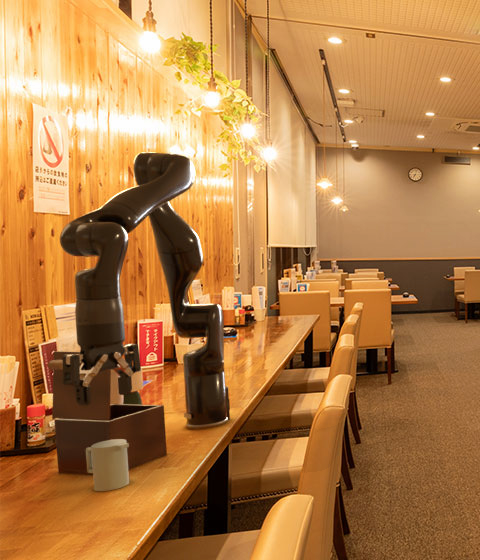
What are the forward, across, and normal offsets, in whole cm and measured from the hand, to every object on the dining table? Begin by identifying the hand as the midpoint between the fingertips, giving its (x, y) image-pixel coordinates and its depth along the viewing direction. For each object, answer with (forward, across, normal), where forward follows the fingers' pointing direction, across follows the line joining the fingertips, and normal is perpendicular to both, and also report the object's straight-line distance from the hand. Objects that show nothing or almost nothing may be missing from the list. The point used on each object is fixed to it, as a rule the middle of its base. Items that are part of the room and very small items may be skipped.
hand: (105, 399), depth 131 cm
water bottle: (+18, +30, +34) cm, 49 cm away
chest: (+18, +12, +12) cm, 25 cm away
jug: (+18, 0, 0) cm, 18 cm away
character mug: (+18, +50, +49) cm, 72 cm away
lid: (-1, +6, +12) cm, 14 cm away
